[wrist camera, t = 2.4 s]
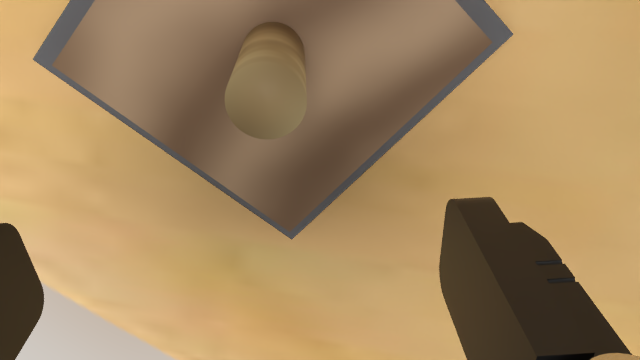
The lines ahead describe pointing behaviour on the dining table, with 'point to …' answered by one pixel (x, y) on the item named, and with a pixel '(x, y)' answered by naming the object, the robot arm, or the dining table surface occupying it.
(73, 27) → the mat
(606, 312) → the dining table surface
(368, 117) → the lid
